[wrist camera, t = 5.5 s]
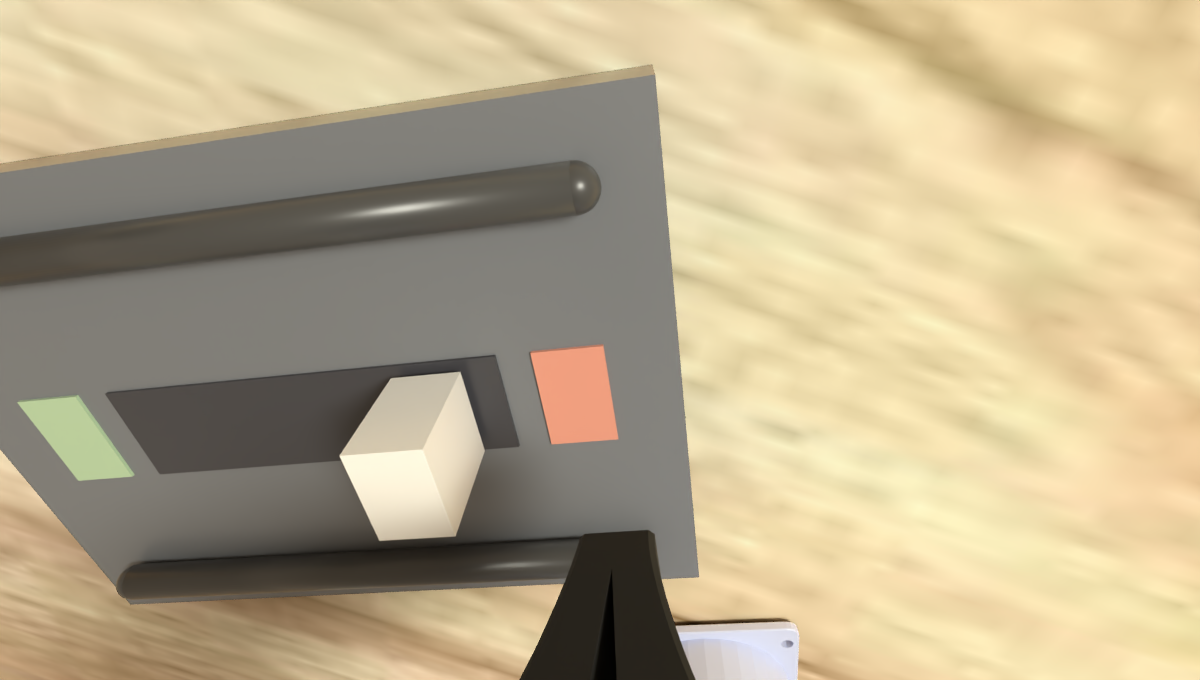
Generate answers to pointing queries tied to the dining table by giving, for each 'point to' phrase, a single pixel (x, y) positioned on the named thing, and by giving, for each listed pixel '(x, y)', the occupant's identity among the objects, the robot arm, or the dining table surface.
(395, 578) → the breaker panel
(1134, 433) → the dining table surface
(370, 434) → the breaker toggle
